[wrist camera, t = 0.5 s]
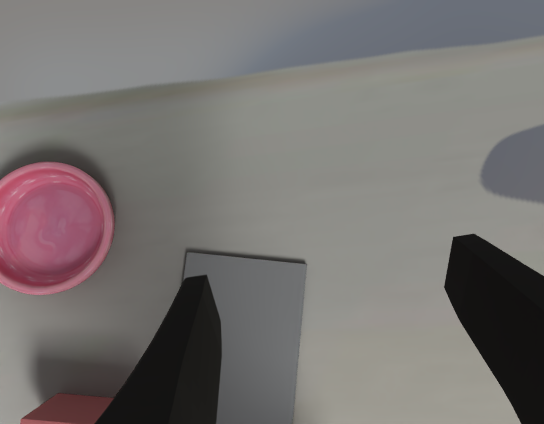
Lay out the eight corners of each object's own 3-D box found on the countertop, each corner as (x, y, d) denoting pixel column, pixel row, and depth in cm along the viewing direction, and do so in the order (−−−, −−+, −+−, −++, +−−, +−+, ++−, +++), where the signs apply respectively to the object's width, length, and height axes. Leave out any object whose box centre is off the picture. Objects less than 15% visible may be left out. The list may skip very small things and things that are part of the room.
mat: (287, 474, 37) (287, 477, 36) (160, 464, 37) (159, 466, 36) (306, 264, 39) (306, 264, 39) (187, 252, 39) (186, 252, 38)
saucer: (-29, 213, 39) (-54, 209, 35) (80, 145, 40) (65, 135, 37) (37, 317, 38) (18, 323, 35) (146, 244, 39) (137, 243, 36)
